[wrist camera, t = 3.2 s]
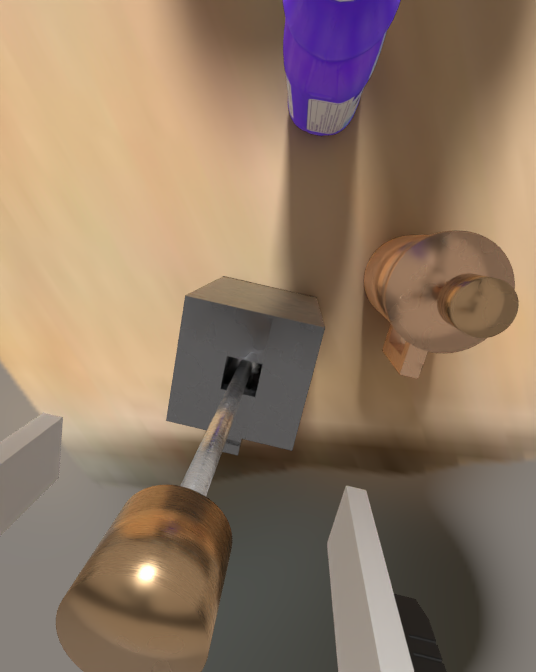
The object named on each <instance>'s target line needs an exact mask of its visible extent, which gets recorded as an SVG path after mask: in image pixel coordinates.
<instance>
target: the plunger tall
mask: <svg viewBox="0 0 536 672" xmlns="http://www.w3.org/2000/svg"><path fill="white" fill-rule="evenodd" d="M262 365H263V364H259V363H255V362H251V361H246V360H242V359H238V358H234V357H228V362H227V368H226V373H225V378H224V383H225V384H229V386H228V388H227V390H226V392H225V394H224V396H223V398H222V400H221V402H220V404H219V407H218V409H217V411H216V413H215V415H214V417H213V419H212V421H211V423H210V425H209V427H208V429H207V432H206V434H205V436H204V438H203V440H202V442H201V444H200V446H199V448H198V450H197V452H196V454H195V456H194V459H193V461H192V463H191V465H190V467H189V469H188V471H187V473H186V475H185V477H184V479H183V481H182V484H181V486H176V485H158V486H152V487H149V488H146V489H144V490H141V491H139V492H138V493H136V494H135V495H133V496H132V497H131V498H130V499H129V500H128V501H127V502H126V504H125V505H124V507H123V508H122V510H121V511H120V513H119V514H118V516H117V517H116V519H115V520H114V522H113V523H112V525H111V527H110V528H109V529H108V531H107V532H106V534H105V535H104V537H103V539H102V540H101V542H100V543H99V545H98V546H97V548H96V549H95V551H94V552H93V554H92V555H91V557H90V559H89V560H88V561H87V563H86V565H85V566H84V568H83V569H82V571H81V572H80V574H79V575H78V577H77V578H76V580H75V581H74V583H73V584H72V586H71V587H70V589H69V590H68V592H67V594H66V595H65V597H64V598H63V600H62V602H61V603H60V605H59V608H58V610H57V615H56V630H57V634H58V638H59V641H60V643H61V645H62V647H63V649H64V650H65V652H66V653H67V655H68V656H69V657H70V659H71V660H72V661H73V662H74V663H75V664H76V665H77V666H78V667H79V668H80V669H81V670H82V671H84V672H201V671H202V669H203V668H204V666H205V664H206V661H207V658H208V653H209V648H210V643H211V639H212V634H213V630H214V625H215V621H216V617H217V612H218V607H219V602H220V598H221V593H222V589H223V585H224V580H225V575H226V571H227V566H228V562H229V557H230V553H231V548H232V532H231V528H230V525H229V522H228V520H227V518H226V517H225V515H224V514H223V512H222V511H221V510H220V509H219V508H218V506H217V505H216V504H215V503H214V502H212V501H211V500H210V499H209V498H207V497H206V495H207V492H208V489H209V487H210V484H211V481H212V478H213V475H214V473H215V470H216V467H217V464H218V462H219V459H220V456H221V453H222V451H223V448H224V445H225V442H226V440H227V437H228V434H229V431H230V429H231V426H232V423H233V420H234V418H235V415H236V412H237V409H238V407H239V404H240V401H241V398H242V395H243V393H244V390H245V388H246V389H250V390H254V391H257V387H258V383H259V378H260V374H261V369H262Z"/></svg>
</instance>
